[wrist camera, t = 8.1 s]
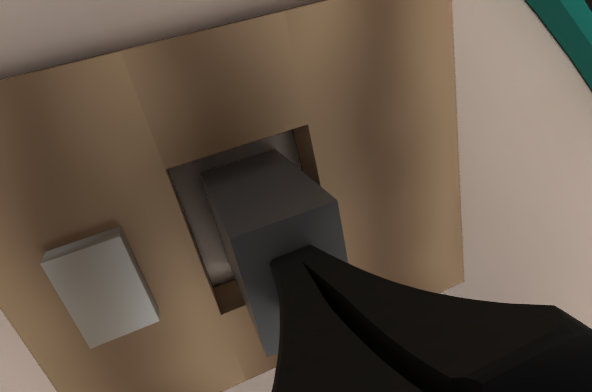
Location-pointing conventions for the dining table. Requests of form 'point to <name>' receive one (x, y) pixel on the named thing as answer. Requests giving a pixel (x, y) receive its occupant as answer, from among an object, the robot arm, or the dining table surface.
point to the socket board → (204, 142)
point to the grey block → (269, 227)
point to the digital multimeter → (570, 29)
